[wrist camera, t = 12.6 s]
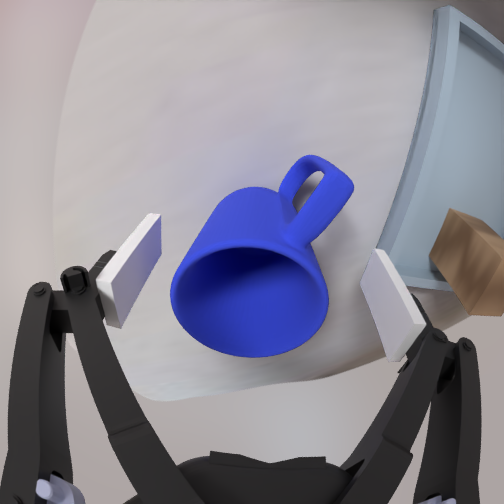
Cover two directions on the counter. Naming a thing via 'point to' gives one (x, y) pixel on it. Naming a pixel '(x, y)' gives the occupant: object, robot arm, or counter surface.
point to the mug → (260, 266)
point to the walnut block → (471, 262)
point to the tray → (450, 148)
